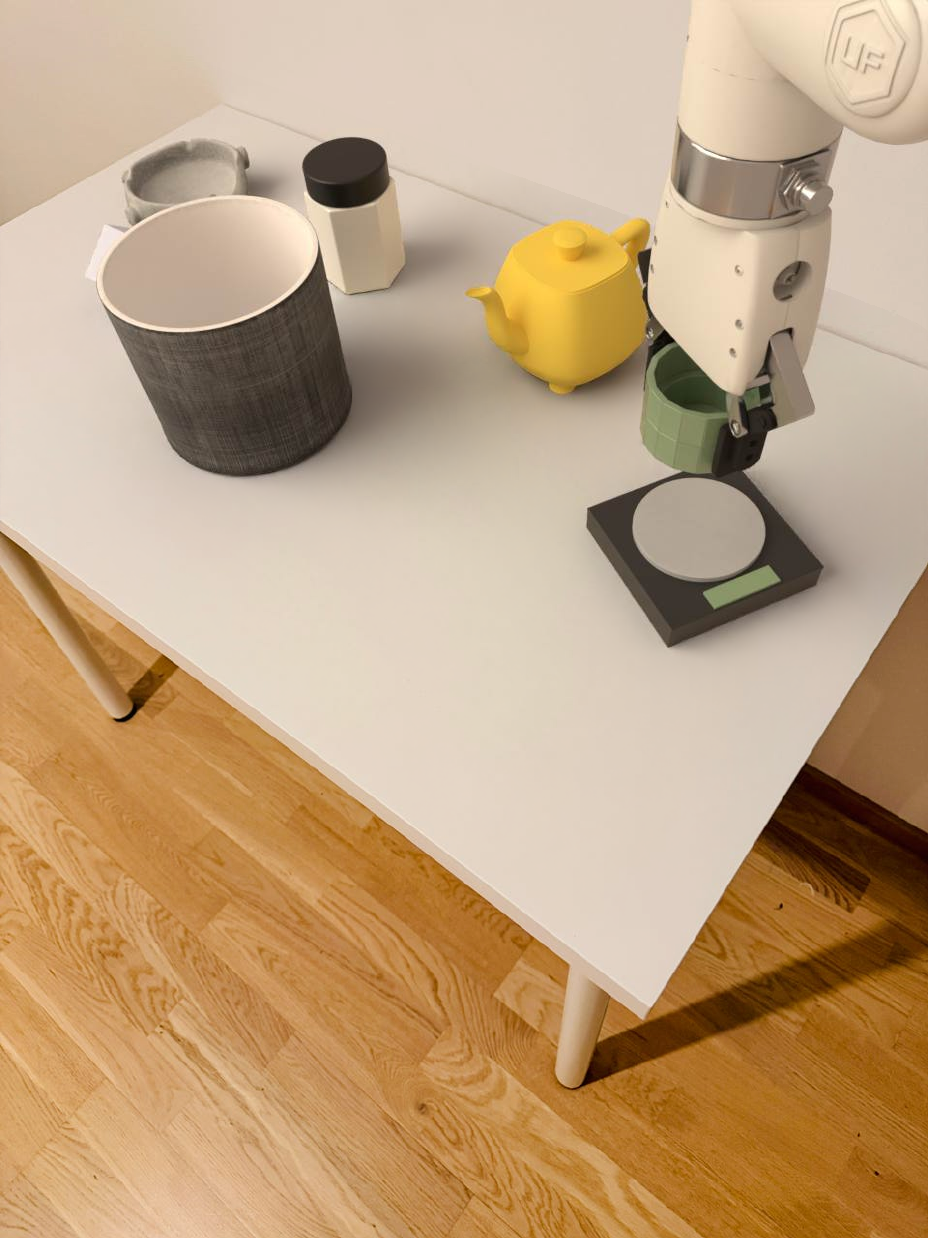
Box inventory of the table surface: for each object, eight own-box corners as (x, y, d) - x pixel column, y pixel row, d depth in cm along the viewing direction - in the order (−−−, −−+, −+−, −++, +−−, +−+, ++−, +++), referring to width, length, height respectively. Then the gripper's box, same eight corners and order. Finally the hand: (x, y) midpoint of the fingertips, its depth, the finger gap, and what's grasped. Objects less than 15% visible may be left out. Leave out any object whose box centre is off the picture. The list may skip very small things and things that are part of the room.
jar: (401, 240, 98) (385, 129, 88) (410, 286, 93) (395, 174, 83) (319, 253, 98) (294, 143, 88) (325, 299, 93) (299, 189, 83)
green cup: (777, 454, 58) (796, 392, 53) (677, 494, 56) (688, 433, 52) (714, 385, 62) (726, 322, 57) (619, 421, 60) (625, 359, 56)
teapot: (434, 367, 86) (419, 251, 76) (594, 280, 92) (600, 161, 82) (521, 445, 80) (518, 330, 69) (687, 346, 85) (707, 226, 75)
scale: (816, 585, 69) (826, 561, 67) (667, 647, 67) (672, 625, 65) (723, 473, 76) (729, 448, 74) (585, 526, 74) (587, 502, 72)
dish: (258, 172, 108) (247, 130, 103) (249, 242, 100) (236, 199, 96) (138, 184, 108) (122, 143, 104) (120, 254, 100) (102, 212, 96)
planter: (386, 424, 82) (357, 273, 69) (205, 507, 78) (138, 364, 65) (304, 321, 91) (265, 170, 78) (139, 391, 87) (68, 244, 74)
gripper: (939, 226, 40) (832, 496, 54) (718, 62, 49) (677, 330, 63) (794, 279, 38) (724, 541, 53) (595, 100, 48) (582, 365, 62)
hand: (699, 425), depth 58 cm, fingers closed on green cup, 7 cm apart
